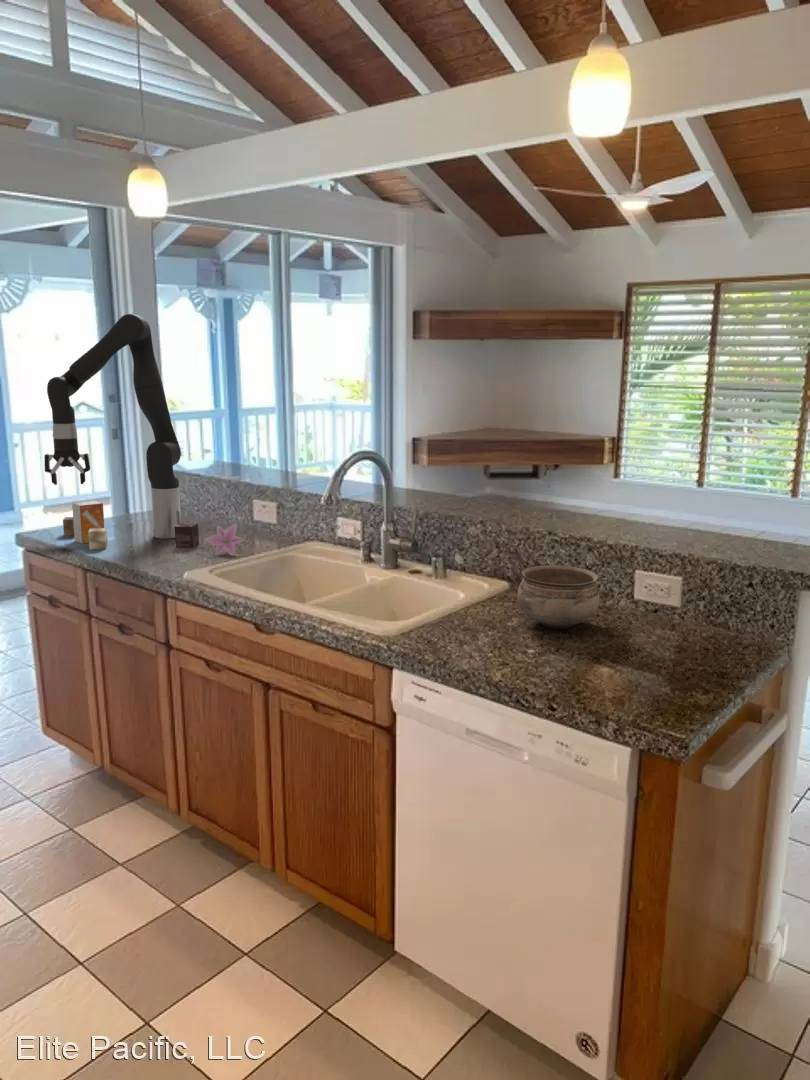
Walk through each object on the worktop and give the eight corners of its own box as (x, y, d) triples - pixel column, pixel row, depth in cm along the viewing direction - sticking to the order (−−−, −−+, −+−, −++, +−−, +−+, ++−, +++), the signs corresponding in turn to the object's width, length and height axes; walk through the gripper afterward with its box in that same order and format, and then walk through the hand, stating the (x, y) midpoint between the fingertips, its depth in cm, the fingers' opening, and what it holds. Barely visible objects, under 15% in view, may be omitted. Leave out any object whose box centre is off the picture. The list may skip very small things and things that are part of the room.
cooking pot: (551, 605, 205) (554, 558, 202) (619, 621, 192) (622, 572, 189) (492, 627, 187) (494, 576, 184) (562, 647, 174) (565, 593, 172)
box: (199, 544, 268) (198, 523, 266) (193, 548, 262) (192, 526, 260) (182, 544, 268) (180, 522, 267) (175, 548, 262) (174, 526, 261)
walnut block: (81, 533, 282) (80, 516, 281) (79, 536, 278) (78, 519, 276) (66, 534, 281) (65, 517, 280) (64, 537, 277) (62, 519, 275)
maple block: (107, 545, 264) (106, 528, 263) (105, 549, 259) (104, 531, 258) (91, 546, 263) (90, 528, 262) (89, 549, 258) (88, 531, 257)
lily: (202, 555, 257) (200, 534, 251) (223, 537, 264) (222, 516, 259) (230, 569, 254) (229, 548, 248) (250, 550, 261) (250, 529, 255)
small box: (82, 544, 266) (79, 505, 263) (74, 541, 270) (71, 502, 267) (105, 540, 271) (103, 502, 269) (98, 537, 276) (95, 500, 273)
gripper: (89, 435, 277) (92, 482, 281) (44, 436, 274) (48, 483, 277) (86, 437, 270) (89, 485, 274) (40, 438, 267) (44, 486, 270)
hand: (68, 484), depth 276 cm, fingers open, 8 cm apart
